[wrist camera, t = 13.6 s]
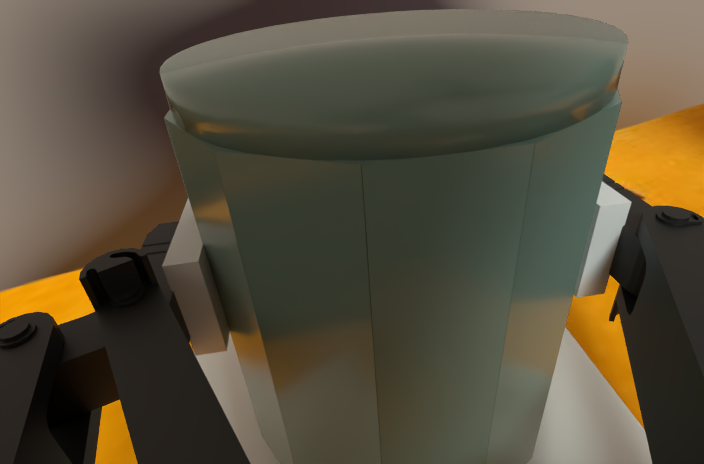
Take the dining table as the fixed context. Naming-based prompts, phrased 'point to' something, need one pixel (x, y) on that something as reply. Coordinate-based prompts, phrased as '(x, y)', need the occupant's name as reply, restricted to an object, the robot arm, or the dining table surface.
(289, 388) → the lidded green canister
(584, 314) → the dining table surface
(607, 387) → the board
